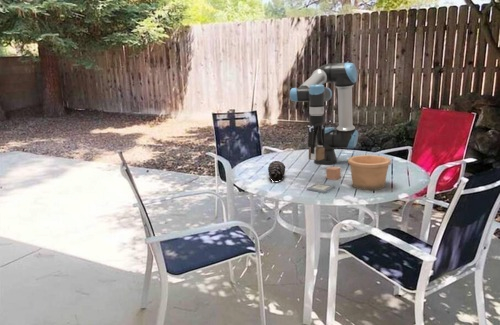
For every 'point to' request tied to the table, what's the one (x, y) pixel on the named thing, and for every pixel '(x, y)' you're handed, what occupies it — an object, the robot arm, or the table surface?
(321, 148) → the walnut cube
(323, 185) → the pad
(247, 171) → the table surface
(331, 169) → the terracotta cube
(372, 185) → the pottery
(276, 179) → the pine cone
